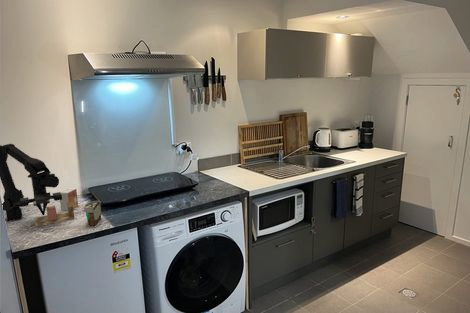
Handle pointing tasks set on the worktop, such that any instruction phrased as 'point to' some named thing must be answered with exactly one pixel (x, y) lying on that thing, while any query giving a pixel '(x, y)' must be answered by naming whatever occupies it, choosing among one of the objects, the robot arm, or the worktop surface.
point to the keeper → (51, 213)
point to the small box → (68, 198)
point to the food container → (93, 212)
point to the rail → (60, 217)
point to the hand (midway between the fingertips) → (43, 214)
